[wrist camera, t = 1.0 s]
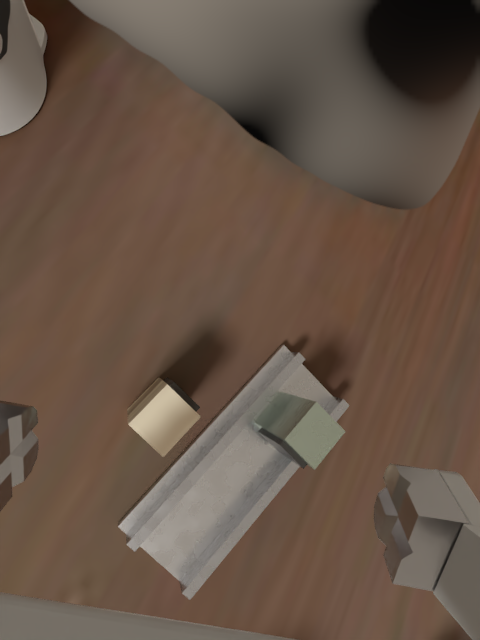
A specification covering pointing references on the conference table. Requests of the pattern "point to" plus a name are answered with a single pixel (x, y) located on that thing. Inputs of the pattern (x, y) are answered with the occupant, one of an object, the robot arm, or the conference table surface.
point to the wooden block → (163, 415)
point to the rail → (235, 469)
